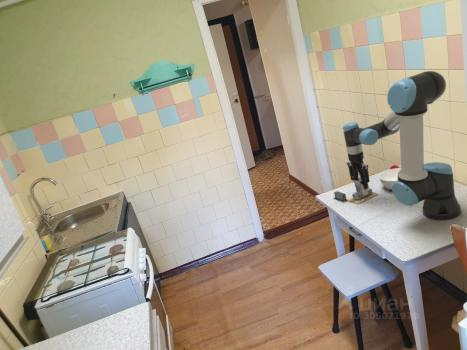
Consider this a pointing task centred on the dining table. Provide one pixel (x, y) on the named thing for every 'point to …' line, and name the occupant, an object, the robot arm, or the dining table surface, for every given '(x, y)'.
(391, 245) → the dining table surface
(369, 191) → the bent metal sheet
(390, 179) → the bowl
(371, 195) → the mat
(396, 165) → the bracket
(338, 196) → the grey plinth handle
